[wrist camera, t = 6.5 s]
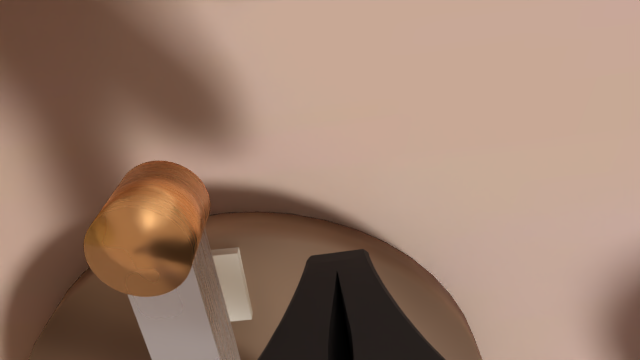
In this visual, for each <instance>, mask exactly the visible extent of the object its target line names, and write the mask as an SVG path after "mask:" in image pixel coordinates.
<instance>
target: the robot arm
mask: <svg viewBox="0 0 640 360" xmlns="http://www.w3.org/2000/svg"><path fill="white" fill-rule="evenodd" d="M257 360H446V359H445V358H444V357H443V356H442V355H441V354H440V353H439V352H438V351H437V350H436V349H435V348H434V347H433V346H432V345H431V344H430V343H429V342H428V341H427V340H426V339H425V338H424V336H423V335H422V334H421V333H420V332H419V331H418V330H417V328H416V327H415V326H414V325H413V324H412V322H411V321H410V320H409V319H408V317H407V316H406V315H405V314H404V312H403V311H402V310H401V308H400V307H399V306H398V304H397V303H396V301H395V300H394V298H393V297H392V296H391V294H390V293H389V291H388V290H387V288H386V287H385V285H384V284H383V282H382V280H381V278H380V277H379V275H378V273H377V271H376V269H375V268H374V265H373V263H372V261H371V259H370V256H369V252H367V251H366V250H364V249H358V250H351V251H343V252H335V253H328V254H320V255H312V256H310V257H309V258H308V260H307V261H306V265H305V268H304V271H303V274H302V276H301V279H300V281H299V284H298V286H297V288H296V291H295V293H294V295H293V297H292V299H291V301H290V303H289V305H288V307H287V310H286V312H285V314H284V316H283V318H282V319H281V321H280V323H279V325H278V327H277V328H276V330H275V332H274V333H273V335H272V337H271V339H270V340H269V342H268V344H267V345H266V347H265V349H264V350H263V352H262V353H261V355H260V356H259V358H258V359H257Z"/></svg>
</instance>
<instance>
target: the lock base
mask: <svg viewBox="0 0 640 360" xmlns="http://www.w3.org/2000/svg"><path fill="white" fill-rule="evenodd" d="M205 230H206V234H207V238H208V241H209V245H210V249H211V252H212V256H213V260H214V263H215V267H216V271H217V274H218V278H219V282H220V285H221V289H222V293H223V296H224V300H225V304H226V308H227V311H228V315H229V319H230V322H231V326H232V330H233V333H234V337H235V341H236V344H237V348H238V352H239V355H240V359H241V360H257V359H258V358H259V356H260V355H261V353H262V352H263V350H264V349H265V347H266V345H267V344H268V342H269V340H270V339H271V337H272V335H273V333H274V332H275V330H276V328H277V327H278V325H279V323H280V321H281V319H282V318H283V316H284V314H285V312H286V310H287V307H288V305H289V303H290V301H291V299H292V297H293V295H294V293H295V291H296V288H297V286H298V284H299V281H300V279H301V276H302V274H303V271H304V268H305V265H306V261H307V260H308V258H309V257H310V256H312V255H320V254H328V253H335V252H343V251H351V250H358V249H364V250H366V251H367V252H369V256H370V259H371V261H372V263H373V265H374V268H375V269H376V271H377V273H378V275H379V277H380V278H381V280H382V282H383V284H384V285H385V287H386V288H387V290H388V291H389V293H390V294H391V296H392V297H393V298H394V300H395V301H396V303H397V304H398V306H399V307H400V308H401V310H402V311H403V312H404V314H405V315H406V316H407V317H408V319H409V320H410V321H411V322H412V324H413V325H414V326H415V327H416V328H417V330H418V331H419V332H420V333H421V334H422V335H423V336H424V338H425V339H426V340H427V341H428V342H429V343H430V344H431V345H432V346H433V347H434V348H435V349H436V350H437V351H438V352H439V353H440V354H441V355H442V356H443V357H444V358H445V359H446V360H482V358H481V355H480V352H479V350H478V347H477V344H476V342H475V339H474V336H473V334H472V332H471V329H470V327H469V325H468V323H467V320H466V318H465V316H464V314H463V313H462V311H461V310H460V308H459V307H458V305H457V304H456V302H455V301H454V299H453V298H452V296H451V295H450V294H449V293H448V291H447V290H446V289H445V288H444V287H443V286H442V285H441V284H440V283H439V282H438V281H437V279H436V278H435V277H434V276H433V275H431V274H430V273H429V272H428V271H427V270H425V269H424V268H423V267H422V266H420V265H419V264H418V263H417V262H415V261H414V260H413V259H412V258H410V257H408V256H407V255H405V254H404V253H402V252H400V251H399V250H397V249H395V248H394V247H392V246H390V245H389V244H387V243H385V242H383V241H381V240H378V239H376V238H374V237H372V236H369V235H367V234H365V233H363V232H360V231H358V230H355V229H352V228H349V227H346V226H342V225H339V224H336V223H333V222H329V221H326V220H321V219H316V218H310V217H305V216H299V215H294V214H283V213H269V212H241V213H222V214H216V215H209V216H208V219H207V222H206V225H205ZM29 360H152V359H151V356H150V353H149V351H148V348H147V345H146V343H145V340H144V337H143V335H142V332H141V329H140V327H139V324H138V321H137V319H136V316H135V313H134V311H133V308H132V305H131V303H130V300H129V297H128V295H127V294H125V293H122V292H119V291H117V290H115V289H113V288H111V287H110V286H108V285H106V284H105V283H104V282H102V281H101V280H100V279H99V278H98V277H97V276H96V275H95V274H94V273H93V271H92V270H91V268H89V269H87V270H86V271H85V272H84V273H83V274H82V275H81V276H80V278H79V279H78V280H77V281H76V282H75V283H74V284H73V286H72V287H71V288H70V289H69V290H68V291H67V293H66V294H65V296H64V298H63V299H62V301H61V302H60V304H59V305H58V307H57V309H56V310H55V312H54V313H53V315H52V316H51V318H50V320H49V321H48V323H47V324H46V326H45V328H44V329H43V331H42V333H41V334H40V336H39V337H38V339H37V341H36V342H35V344H34V347H33V349H32V352H31V355H30V357H29Z"/></svg>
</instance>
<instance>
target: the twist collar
mask: <svg viewBox="0 0 640 360" xmlns="http://www.w3.org/2000/svg"><path fill="white" fill-rule="evenodd" d="M209 213H210V197H209V194H208V191H207V189H206V187H205V185H204V184H203V182H202V181H201V180H200V179H199V178H198V177H197V176H196V175H195V174H194V173H193V172H192V171H190V170H189V169H187V168H185V167H183V166H181V165H179V164H176V163H173V162H168V161H150V162H145V163H142V164H140V165H138V166H136V167H134V168H133V169H131V170H130V171H129V172H128V173H127V174H126V175H125V177H124V178H123V179H122V181H121V182H120V184H119V185H118V187H117V188H116V189H115V191H114V192H113V194H112V195H111V197H110V198H109V200H108V201H107V202H106V204H105V205H104V207H103V208H102V210H101V211H100V213H99V214H98V215H97V217H96V218H95V220H94V221H93V223H92V224H91V225H90V227H89V229H88V230H87V232H86V235H85V238H84V254H85V258H86V261H87V263H88V265H89V267H90V268H91V270H92V271H93V273H94V274H95V275H96V276H97V277H98V278H99V279H100V280H101V281H102V282H104V283H105V284H106V285H108V286H110V287H111V288H113V289H115V290H117V291H119V292H122V293H125V294H127V295H128V297H129V300H130V303H131V305H132V308H133V311H134V313H135V316H136V319H137V321H138V324H139V327H140V329H141V332H142V335H143V337H144V340H145V343H146V345H147V348H148V351H149V353H150V356H151V359H152V360H241V359H240V355H239V352H238V348H237V344H236V341H235V337H234V333H233V330H232V326H231V322H230V319H229V315H228V311H227V308H226V304H225V300H224V296H223V293H222V289H221V285H220V282H219V278H218V274H217V271H216V267H215V263H214V260H213V256H212V252H211V249H210V245H209V241H208V238H207V234H206V230H205V225H206V222H207V219H208V216H209Z"/></svg>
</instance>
